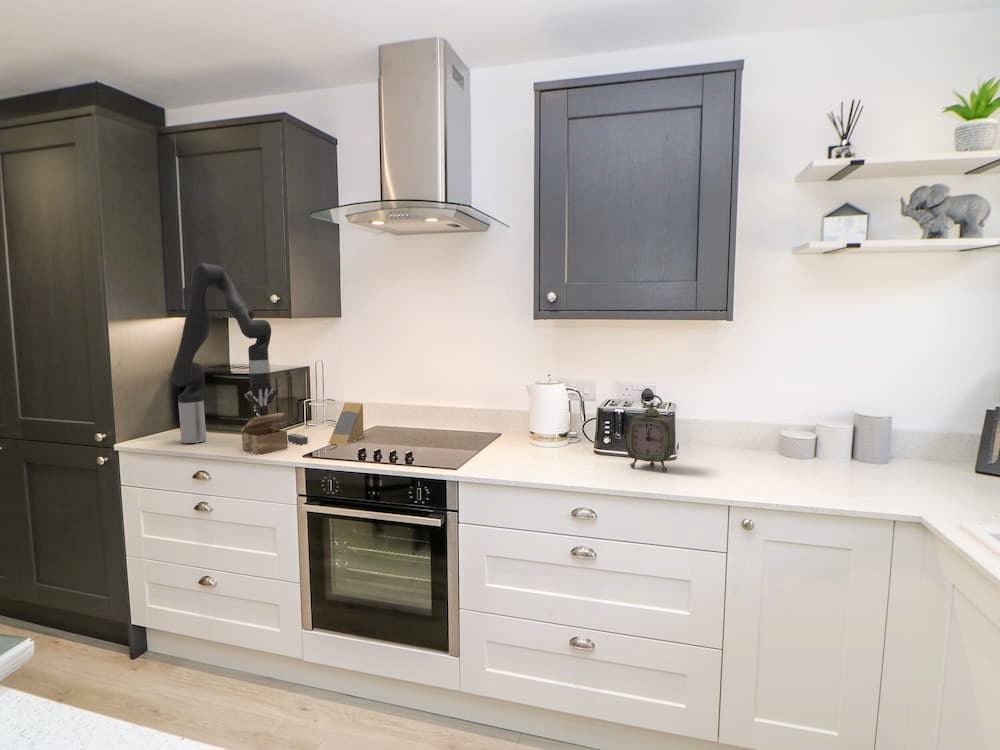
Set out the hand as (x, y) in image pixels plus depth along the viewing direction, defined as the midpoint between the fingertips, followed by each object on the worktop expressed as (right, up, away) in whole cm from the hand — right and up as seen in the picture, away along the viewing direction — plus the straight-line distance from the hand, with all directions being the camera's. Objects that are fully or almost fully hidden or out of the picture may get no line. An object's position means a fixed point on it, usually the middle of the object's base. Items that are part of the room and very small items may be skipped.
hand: (262, 415), depth 224 cm
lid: (0, -3, 0) cm, 3 cm away
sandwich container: (+29, -12, +14) cm, 34 cm away
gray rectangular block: (+10, -12, +12) cm, 20 cm away
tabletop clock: (+144, -16, -32) cm, 148 cm away
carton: (+1, -13, +1) cm, 13 cm away
